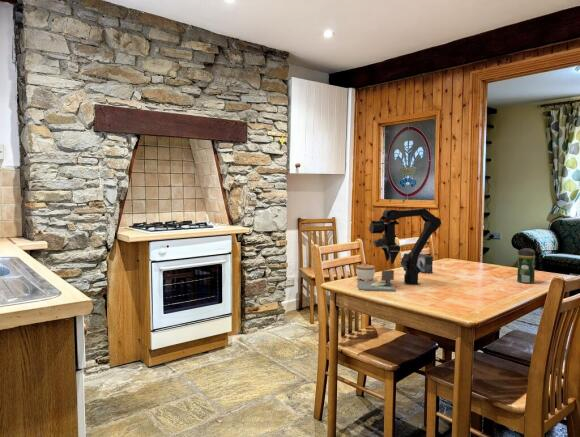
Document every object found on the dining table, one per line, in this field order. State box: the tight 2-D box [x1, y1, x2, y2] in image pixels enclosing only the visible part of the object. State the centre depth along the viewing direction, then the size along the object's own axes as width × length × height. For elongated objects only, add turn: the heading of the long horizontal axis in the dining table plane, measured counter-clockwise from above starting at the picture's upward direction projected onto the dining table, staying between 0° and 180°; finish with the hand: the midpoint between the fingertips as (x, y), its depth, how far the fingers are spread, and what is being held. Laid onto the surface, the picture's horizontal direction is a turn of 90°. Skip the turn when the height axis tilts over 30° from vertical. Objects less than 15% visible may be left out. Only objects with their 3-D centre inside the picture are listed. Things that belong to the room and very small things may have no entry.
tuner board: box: [356, 280, 397, 293], centre depth 215 cm, size 18×18×1 cm
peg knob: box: [371, 269, 395, 286], centre depth 212 cm, size 13×4×7 cm, turn 114°
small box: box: [416, 253, 434, 275], centre depth 257 cm, size 11×6×10 cm, turn 25°
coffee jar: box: [516, 247, 536, 284], centre depth 227 cm, size 10×8×19 cm
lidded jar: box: [355, 262, 376, 281], centre depth 233 cm, size 11×11×9 cm
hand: (389, 262), depth 221 cm, fingers open, 9 cm apart
